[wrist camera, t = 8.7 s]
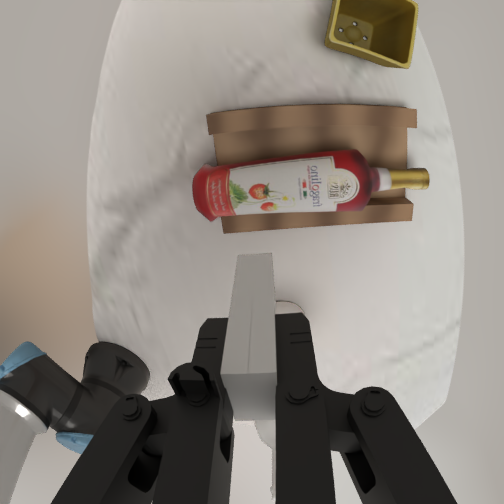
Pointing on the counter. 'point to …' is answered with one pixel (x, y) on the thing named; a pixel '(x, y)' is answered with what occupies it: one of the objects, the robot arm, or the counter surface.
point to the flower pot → (374, 30)
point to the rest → (317, 140)
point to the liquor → (297, 184)
